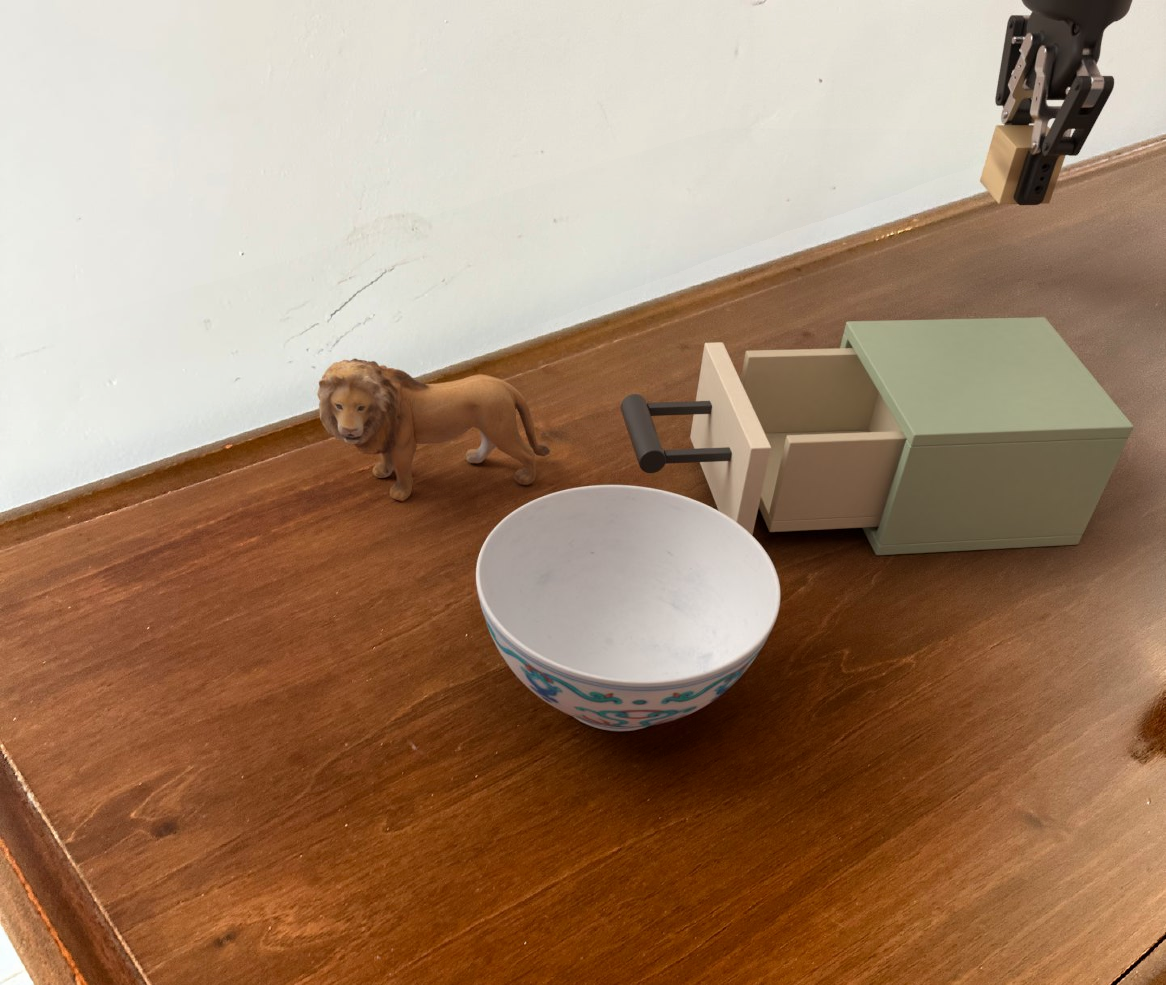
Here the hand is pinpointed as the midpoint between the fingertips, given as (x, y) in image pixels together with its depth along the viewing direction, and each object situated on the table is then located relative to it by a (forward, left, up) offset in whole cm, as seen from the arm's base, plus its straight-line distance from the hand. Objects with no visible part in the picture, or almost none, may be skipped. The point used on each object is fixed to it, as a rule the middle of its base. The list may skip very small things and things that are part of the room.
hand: (1015, 188), depth 93 cm
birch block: (0, 0, 0) cm, 0 cm away
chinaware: (+40, +44, -7) cm, 60 cm away
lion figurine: (+48, +25, -7) cm, 54 cm away
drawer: (+27, +28, -6) cm, 40 cm away
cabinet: (+15, +28, -7) cm, 33 cm away
